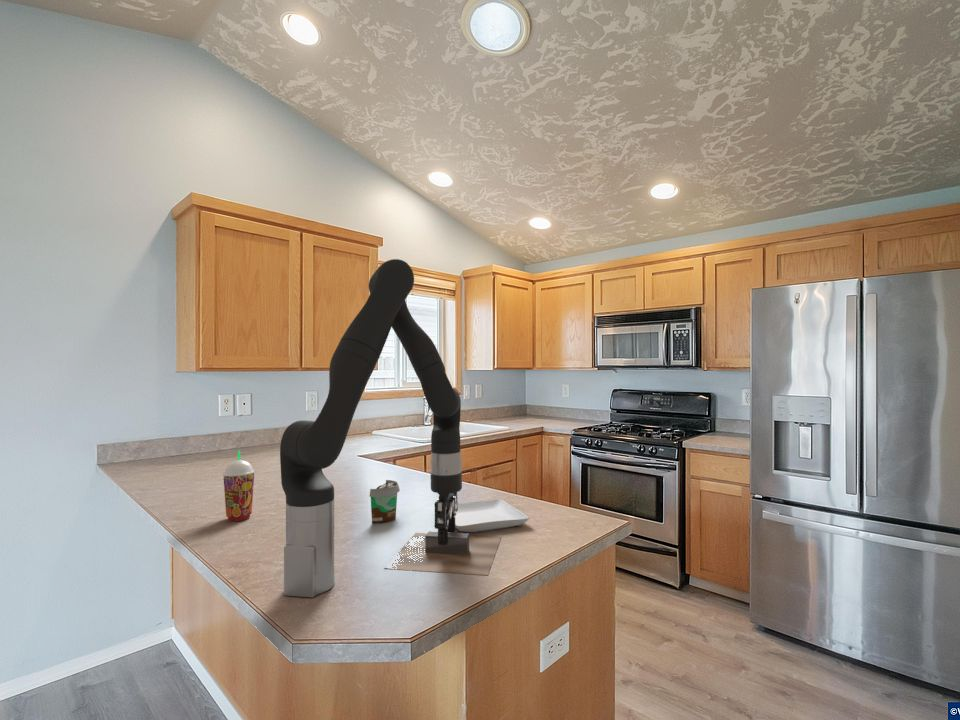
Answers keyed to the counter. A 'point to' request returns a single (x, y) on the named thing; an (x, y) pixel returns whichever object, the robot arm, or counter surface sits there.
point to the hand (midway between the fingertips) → (447, 538)
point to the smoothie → (238, 489)
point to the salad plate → (487, 516)
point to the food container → (384, 502)
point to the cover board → (451, 554)
